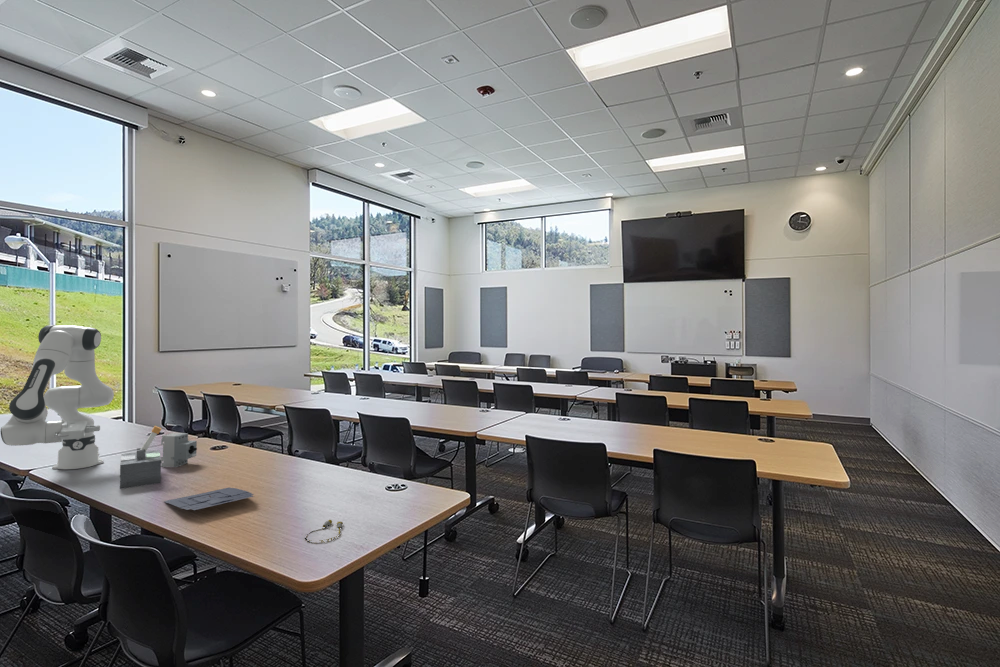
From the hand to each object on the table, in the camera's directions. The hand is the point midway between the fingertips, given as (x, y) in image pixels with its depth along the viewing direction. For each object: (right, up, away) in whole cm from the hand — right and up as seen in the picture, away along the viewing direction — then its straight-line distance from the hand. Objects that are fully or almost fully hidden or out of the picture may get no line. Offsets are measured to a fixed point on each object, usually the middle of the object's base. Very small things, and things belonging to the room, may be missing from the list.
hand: (100, 428), depth 209 cm
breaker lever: (+11, -14, +8) cm, 19 cm away
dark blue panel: (+59, -26, -20) cm, 67 cm away
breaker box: (+11, -24, +8) cm, 28 cm away
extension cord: (+113, -27, -45) cm, 125 cm away
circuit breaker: (+13, -25, +32) cm, 43 cm away
